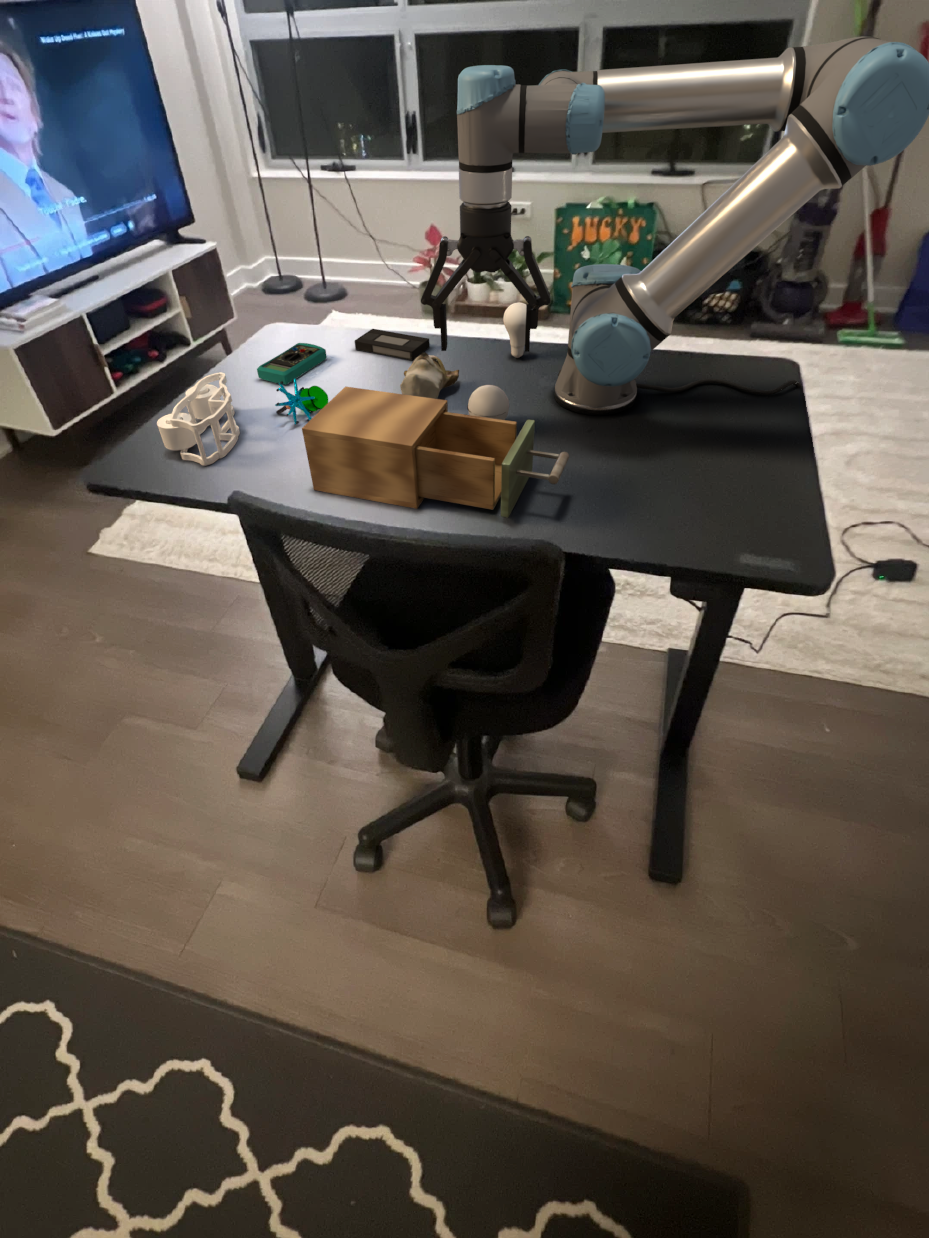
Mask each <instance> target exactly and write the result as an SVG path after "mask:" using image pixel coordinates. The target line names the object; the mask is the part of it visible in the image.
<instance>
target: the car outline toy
mask: <svg viewBox="0 0 929 1238" xmlns="http://www.w3.org/2000/svg"><path fill="white" fill-rule="evenodd" d="M215 381H218V385H219V387H217V386H216V385H214V384H210V383H213V382H215ZM227 382H228V380H227V376H226V373H225V372H215V373H211V374H208V375H206V376H204V377H202V378H201V379H200V380H198V381H197V382H196V383H195V384H194V386H192V387H189V388H188V389H187V390H186V391H185V396H184V397H182V398H181V399H180V400H179V401H178V402H177V404H175V405H174V407H173V409H172V411H171V413H168V414H166V415H163V416H161V417H160V418H158V419H157V421H156V425H157V428H158V431H159V433H160V437H161V440H162V442H163V446H164V448H166V449H167V450H169V451H180V452H179V453H180V457H181V459H182V461H191V462H194V463H198V464H200V465H201V466H204V467H205V466H209V465H212V464H215V462H216V461H218V460H219V459H223V458H225V457H226V455H228V454H229V452H230V451H231V450H232V449H233V448H234V446H235V445H236V444H237V441H238V440H239V436H240V435H241V430H240V427H239V426H238V425H237V422H236V419H235V418H234V415H235V413H236V412H235V409H234V406H233V404H232V402H233V399H232V394H231V393H230V392H229V390H228V387H227ZM221 397H222V398H223V399H221ZM185 407H186V409H187V412H181V411H183V409H184V408H185ZM225 414H226V416H227V420H226V422H225V423H224V424H223V425H222V426H221V424H220V422H219V421H220V419H222V417H224V415H225ZM197 420H201V421H199V422H197ZM209 426H210V427H211V428H210V429H211V431H212V434H213V438H214V443H215V446H216V449H217V451H214V452H213V453H212V454H210V455H209V456H207V454H206V450H205V447H204V444H203V441H202V438H201V434H203V433H204V432H205V431H206V430H207V428H208V427H209ZM229 430H230V431H231V433H227V432H228V431H229ZM221 441H227V443H226V444H225V445H224V446H223V445H222V442H221ZM196 444H197V448H198V451H199V454H195V453H193V452H192V453H191V452H188V450H189V449H190V448H192V447H194V446H195V445H196Z"/></svg>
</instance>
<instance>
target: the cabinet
mask: <svg viewBox="0 0 929 1238" xmlns="http://www.w3.org/2000/svg"><path fill="white" fill-rule="evenodd" d="M448 404H449V403H448V400H446V399H440V398H437V399H433V398H426V397H418V396H411V395H404V394H402V393H398V392H397V393H396V392H389V391H380V390H375V389H368V388H367V389H366V388H360V387H354V386H353V387H352V386H347V385H346V386H344V387H343V388H342V389H341V390H340V391H339V392H338V393H337V394H336V395H335V396H334V397H333V398H332V399H331V400H329V401H328V404H327V405H326V406H325V407H324V408H322V409H319V410H318V412H317V413H316V414H315V415H314V416H313V417H311V418H312V419H311V420H310V421H307V423H306V424H304V426H303V427H301V433H302V436H303V440H304V447H305V452H306V456H307V457H306V458H307V463H308V467H309V471H310V476H311V477H310V478H311V483H312V487H313V488H312V489H313V491H317V492H322V493H328V494H333V495H339V496H345V497H350V498H356V499H361V500H366V501H372V502H377V503H383V504H388V505H394V506H400V507H404V508H410V509H415V510H417V509H418V508H419V506H420V505H421V504H422V502H423V501H424V499H425V498H424V497H419V496H418V487H417V474H416V461H415V449H414V448H415V447H416V446H417V445H418V443H419V442H420V441H421V439H422V438H423V437H424V436H425V434H426V433H427V432H428V430H429V429H430V428H431V426H432V425H433V424H434V423H435V421H436V420H437V419H438V417H439V416H440V415H441V414H442V412H443V411H444V412H449V406H448Z"/></svg>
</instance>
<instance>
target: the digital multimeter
mask: <svg viewBox="0 0 929 1238" xmlns="http://www.w3.org/2000/svg"><path fill="white" fill-rule="evenodd" d="M327 356H328V355H327V350H326V348H323V347H321V346H319V345H317V344H312V343H307V342H297V343H295V344H294V345H292V346H291V347H289V348H288V349H286V350H284V351H283V352H282V353H280V354H278V355H276V356H275V357H273V358H271V359H269V360H267V361H265V362H264V363H262V364H260V365H259V366H258V367H257V368H256V372H257V377H258V378H259V379H261V380H263V381H266V382H270V383H274V384H279V383H280V382H281V381H283V384H282V385H285V386H286V385H289V384H290V383H293V382H292V380H293V379H294V378H296V379H298V378H300V377H301V376H302V375H304V374H306V373H307V372H309V371H310V370H312V369H313V368H314V367H316V366H318V365H319V364H321V363H323V362H324V361H326V360H327V358H328V357H327Z"/></svg>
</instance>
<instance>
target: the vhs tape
mask: <svg viewBox="0 0 929 1238" xmlns="http://www.w3.org/2000/svg"><path fill="white" fill-rule="evenodd" d="M354 348H355V351H360V352H364V353H370V354H374V355H375V354H376V355H380V356H386V357H391V358H397V359H402V360H407V361H414V360H415V359H416V358H417V357H418V356H420V354H422V353H424V352H426V351H428V349H430V348H431V344H430V338H429V337H423V336H417V335H411V334H406V333H399V332H395V331H389V330H382V329H378V328H371V329H369V330H368V331H367V332H364V334H362V335H361V336H359V337H357V338H356V339H355V340H354Z"/></svg>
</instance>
